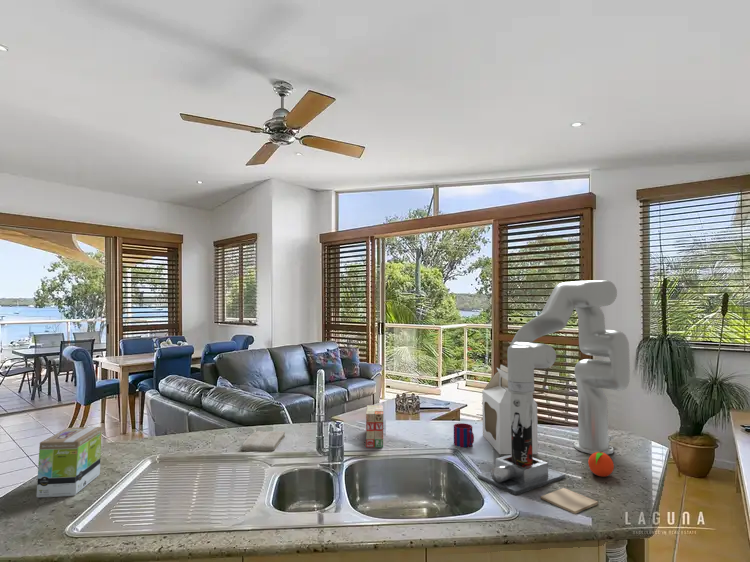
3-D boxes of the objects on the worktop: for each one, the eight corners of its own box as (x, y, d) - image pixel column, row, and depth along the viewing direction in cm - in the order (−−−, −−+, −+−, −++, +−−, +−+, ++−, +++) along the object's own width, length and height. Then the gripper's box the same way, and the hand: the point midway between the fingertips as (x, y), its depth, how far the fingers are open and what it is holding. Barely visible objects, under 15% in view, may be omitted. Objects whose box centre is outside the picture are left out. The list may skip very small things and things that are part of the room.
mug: (467, 441, 167) (467, 422, 168) (479, 450, 158) (479, 430, 158) (450, 442, 166) (450, 423, 166) (462, 451, 156) (462, 431, 156)
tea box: (76, 496, 120) (78, 440, 121) (35, 499, 119) (37, 442, 119) (101, 474, 135) (102, 425, 136) (64, 476, 134) (66, 426, 134)
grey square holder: (526, 463, 145) (526, 447, 145) (565, 477, 133) (565, 460, 134) (477, 477, 133) (477, 460, 133) (515, 495, 122) (515, 476, 122)
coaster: (563, 490, 125) (563, 487, 125) (598, 503, 116) (598, 501, 116) (540, 498, 119) (540, 496, 119) (575, 513, 111) (575, 511, 111)
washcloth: (286, 436, 174) (286, 428, 174) (275, 452, 156) (275, 443, 156) (255, 436, 174) (255, 428, 174) (241, 452, 156) (241, 443, 156)
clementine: (609, 483, 129) (608, 458, 130) (583, 477, 134) (583, 453, 134) (616, 475, 135) (616, 451, 135) (592, 469, 140) (592, 446, 140)
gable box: (482, 435, 175) (481, 363, 176) (515, 434, 175) (515, 363, 176) (500, 455, 153) (499, 372, 154) (538, 454, 153) (537, 372, 154)
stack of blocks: (367, 430, 181) (367, 399, 182) (382, 430, 181) (382, 399, 182) (365, 447, 160) (366, 413, 160) (383, 448, 160) (383, 413, 160)
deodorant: (518, 473, 130) (517, 421, 131) (508, 466, 136) (507, 416, 136) (536, 471, 132) (535, 420, 132) (525, 464, 137) (524, 415, 138)
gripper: (526, 393, 125) (527, 458, 125) (540, 382, 140) (541, 441, 139) (500, 390, 129) (501, 453, 129) (516, 380, 144) (516, 437, 143)
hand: (522, 446), depth 134 cm, fingers closed on deodorant, 6 cm apart
